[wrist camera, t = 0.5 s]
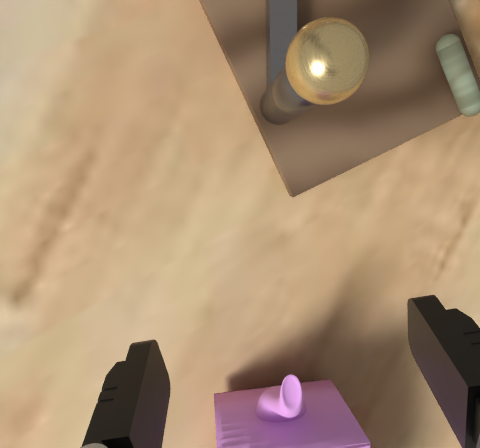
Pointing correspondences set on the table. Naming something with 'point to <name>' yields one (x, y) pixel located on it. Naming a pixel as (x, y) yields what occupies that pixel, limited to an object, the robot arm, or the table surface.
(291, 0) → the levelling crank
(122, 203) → the table surface
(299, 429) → the teapot
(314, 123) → the walnut base
